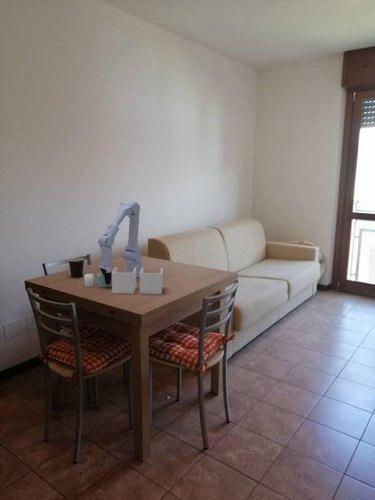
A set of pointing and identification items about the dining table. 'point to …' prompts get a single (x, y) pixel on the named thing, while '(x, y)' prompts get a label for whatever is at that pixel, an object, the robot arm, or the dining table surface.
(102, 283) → the green tapered block
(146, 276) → the storage container
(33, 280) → the dining table surface
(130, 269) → the robot arm
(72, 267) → the coffee mug
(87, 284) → the white domed capsule
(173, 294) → the dining table surface
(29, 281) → the dining table surface
